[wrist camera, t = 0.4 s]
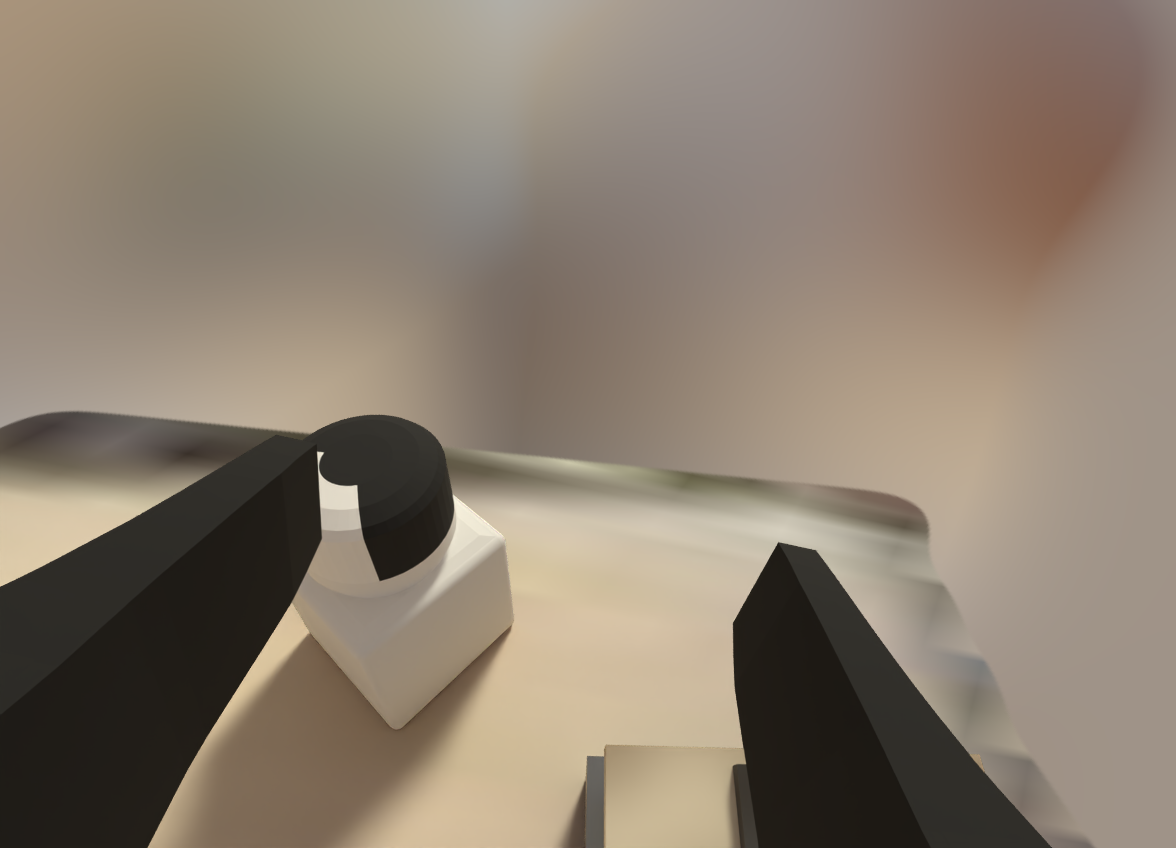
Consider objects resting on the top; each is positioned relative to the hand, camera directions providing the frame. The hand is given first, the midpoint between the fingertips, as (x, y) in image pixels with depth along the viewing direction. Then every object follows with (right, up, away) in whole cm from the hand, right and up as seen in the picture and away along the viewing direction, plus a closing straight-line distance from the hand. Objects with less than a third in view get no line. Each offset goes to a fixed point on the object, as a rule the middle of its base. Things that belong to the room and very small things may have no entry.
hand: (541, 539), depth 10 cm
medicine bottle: (-8, -8, +20) cm, 23 cm away
